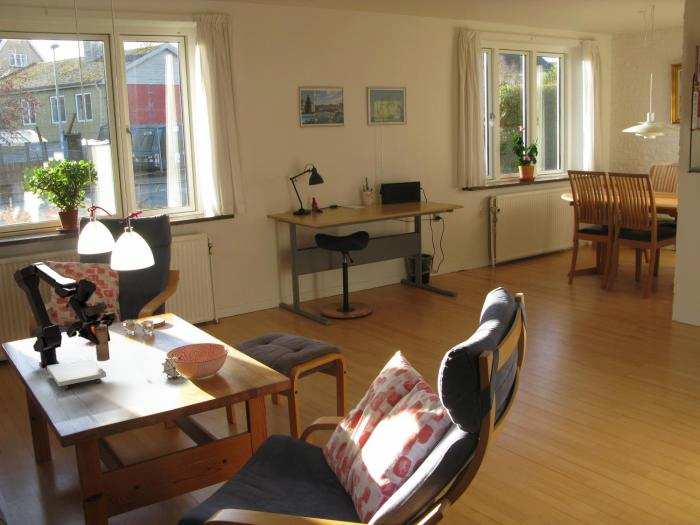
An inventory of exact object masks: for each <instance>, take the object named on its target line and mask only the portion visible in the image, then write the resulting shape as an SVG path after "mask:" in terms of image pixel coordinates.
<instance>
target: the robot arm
mask: <svg viewBox="0 0 700 525" xmlns="http://www.w3.org/2000/svg"><path fill="white" fill-rule="evenodd" d="M13 279H14V281H15V283H16V284H17V286H18V287H19V289H21V290H22V291H23V292H24V293H25V295H26V298H27V301H28V303H29V306H30V308H31V309H30V310H31V313H32V315H33V317H34V320H35V322H36V326H37V329H36V333H35V336H36V341H35V342H34V344H33V345H32V346H33V350H34V352H37V353H39V354H40V355H39V356H40V362H38V364H39V366H40V367H41V368H47V366H49V365H55V364H60V362H59V361H58V358H57V349H58V348H61V346H62V341H63V340H62V339H63V336H62V332H61V330H60V327H59V325H58V324H57V323H56V324H54V323H53V322H52V321H51V318H50V315H49V313H48V310H47V308H46V305H45V303H44V302H45V301H44V299H43V297H42V294H41V292H40V288H39V286H40V283H41V280H43V282H44V283H46V284H48V285H49V286H50V287H52V288H53V290H54V294H56V295H57V296H58V297H59V298H60V299H68V298H69V299H68V300H66V304H65V308H66V309H68V308H69V309H71V310H72V312H73V313H74V315H75V316H74V320H76V321H73V322H71V323H70V324H69V326H68V327H67V329H66V335H67V337H68V338H69V339H71V338H74V337H76V336H77V337H79V338H82V339H85V340H87V341H89V342H91V343H93V344H95V345H96V344H97V345H99V344H100V343H99V341H98V339H97V338H96V336H95V335H94V333H93V331H92V329H91V327H93V326H96V325H107V334H108V343H109V342H110V341H111V336H110V331H109V327H111V326H112V325H113V324H114V322H116V319H117V318H118V316H117V314H116V313H115V312H113V311H111V312H107V313H105V312H106V310H107V309H108V306H107V304H106V303H105V301H104V300H103V301H99V302H97V304H95V305H90V304H88V302H89V301H90V300H91V298H92V296H94V294H95V293H96V291H97V285H96V284H95V283H94V282H92V281H90V280H87V278H80V279H79V281H78V282H77V281H76V280H74V279H73V278H68V277H63V276H62V275H60V274H58V273H57V272H56V271H55V270H53V269H51V268H50V267H49V266H47V265H46V263H45V262H41V261H40V262H35V263H31V264H30V265H28V266H26V267H24V268H19V269H16V270H15V273H14V274H13ZM102 313H103V316H102V317H101V314H102ZM100 317H101V318H100ZM77 334H78V335H77Z"/></svg>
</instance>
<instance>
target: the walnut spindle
mask: <svg viewBox="0 0 700 525" xmlns="http://www.w3.org/2000/svg"><path fill="white" fill-rule="evenodd" d="M94 333H95V336H96V338H97V339H98V341H99V343H100V344H99V345H97V344H95V353H96V361H97V362H107V361H109V360H110V359H111V358H110V357H111V356H110V348H109V347H110V346H109V342H108V334H107V325H96V326H94Z"/></svg>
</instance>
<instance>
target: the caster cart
mask: <svg viewBox="0 0 700 525" xmlns="http://www.w3.org/2000/svg"><path fill="white" fill-rule="evenodd" d="M46 368H47V369H46V370H47V372H48V373H49V374H50V376H51V377H52V379H53V380H54V382H55V383H56V385H57V386H58V387H61V386H62V388H63V391H68V390H69V385H72V384H77V383H83V382H88V381H93V380H95V384H96V385H97V384H101V379H103V378H107V373H106V371H105V370H104V369H103V368H102V367H101V366H100V365H99V364H98V362H96V361H95V359H93V357H89V358H84V359H83V358H82V359H77V360H72V361H71V360H70V361H67V362H59V364H55V365H49V366H47V367H46Z"/></svg>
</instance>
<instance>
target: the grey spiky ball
mask: <svg viewBox="0 0 700 525" xmlns="http://www.w3.org/2000/svg"><path fill="white" fill-rule="evenodd" d="M172 355H173V356H174V354H173V353H172V354H171V356H172ZM181 358H182V356H179V357H177V356H174V357H173V358H172V359H171V358H170V357H168V358H167V357H166V358H165V361H164V363H161V365H162V366H163V371H162V372H161V373H162V374H163V373H165V374H166V378H167V377H169V376H170V377H172V378H173V379H174V380H176V378H177V377H178V376H179V375H180V374H179V373H178V372H177V371H176V367H175V365H174V364H173V362H172V361H174V360H175V361H181V360H182V359H181Z"/></svg>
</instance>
